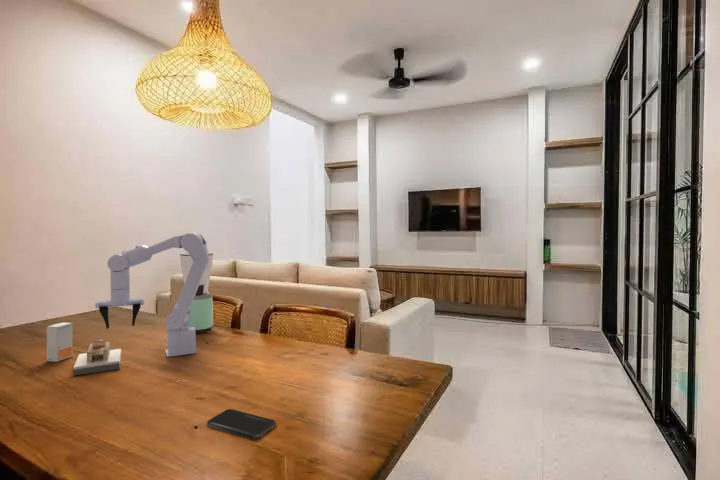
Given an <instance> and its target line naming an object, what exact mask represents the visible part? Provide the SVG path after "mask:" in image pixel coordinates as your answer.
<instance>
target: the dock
mask: <svg viewBox="0 0 720 480" xmlns="http://www.w3.org/2000/svg"><path fill="white" fill-rule="evenodd" d="M121 359H122V348H115V349H110V353H109V357H108V361H103V358H96V359H93V360H92V363H87V352H84V353H79V354H78V356H77V358H76V361H75V363H74V366H73V370H72V371H73V373H72V375H73V376H80V375H86V374H93V373H100V372H101V373H102V372H107V371H113V370H120V367H121V361H122V360H121Z"/></svg>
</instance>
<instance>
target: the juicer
mask: <svg viewBox="0 0 720 480" xmlns="http://www.w3.org/2000/svg"><path fill="white" fill-rule="evenodd" d="M208 255H209V262H208V264H207V267H206V269H205V272H204V274H203V277H202V279H201V282H200V284H199V287H198V289H197V292H196V294H195V296H194V299H193V301H192V304H191V309H190V319H189V321H188V322H187V323H188V325H189V327H195V332H196V333H204V332H206V331H212V328H213V327H214V304H213V303H214V299H213V295H212V294H211V293H210V292H209V285H210V280H211V279H210V278H211V273H212V266H213V259H214V253H212V252H208ZM179 256H180V265H181V266H180V267H181V272H182V277H183V278H182V279H183V285H184V284H185V282H186V279H187V277H188V274H189V272H190V269H191V267H192V264H193V262H194V261H193V259H192V257H191V256H190V254H189V253H188V252H186V253H185V252H184V253H183V252H182V253H179Z"/></svg>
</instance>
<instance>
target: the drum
mask: <svg viewBox="0 0 720 480" xmlns="http://www.w3.org/2000/svg"><path fill="white" fill-rule="evenodd" d="M105 342H106V340H105V339H102V338H100V339H95V340H93V341H92V342H91V344H92V348H94V349H98V348H103V347H105Z"/></svg>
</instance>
